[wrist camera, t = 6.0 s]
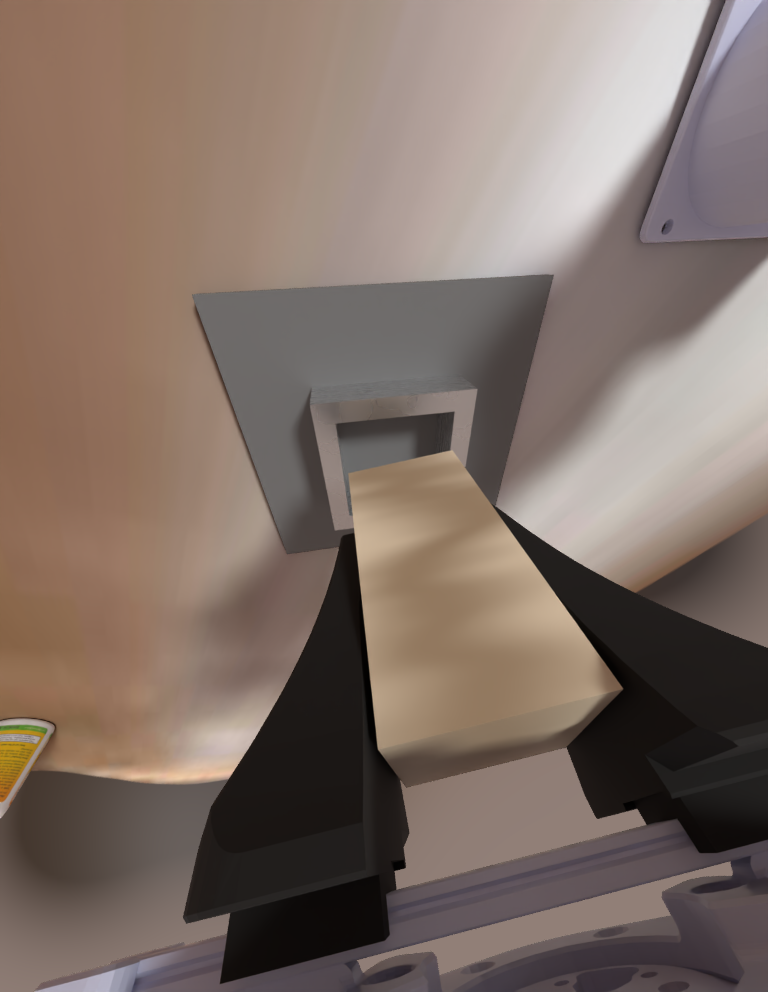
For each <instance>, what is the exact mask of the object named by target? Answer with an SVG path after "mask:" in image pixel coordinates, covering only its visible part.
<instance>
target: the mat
mask: <svg viewBox="0 0 768 992" xmlns="http://www.w3.org/2000/svg"><path fill="white" fill-rule="evenodd" d="M553 276H554V275H531V276H513V277H495V278H477V279H459V280H440V281H422V282H404V283H386V284H368V285H349V286H331V287H313V288H295V289H277V290H258V291H240V292H222V293H204V294H193V295H192V296H193V299H194V302H195V304H196V307H197V310H198V313H199V315H200V318H201V321H202V324H203V326H204V329H205V332H206V334H207V337H208V340H209V343H210V345H211V348H212V351H213V354H214V356H215V359H216V362H217V364H218V367H219V370H220V373H221V375H222V378H223V381H224V384H225V386H226V389H227V392H228V394H229V397H230V400H231V403H232V405H233V408H234V411H235V414H236V416H237V419H238V422H239V424H240V427H241V430H242V433H243V435H244V438H245V441H246V444H247V446H248V449H249V452H250V454H251V457H252V460H253V463H254V465H255V468H256V471H257V474H258V476H259V479H260V482H261V484H262V487H263V490H264V493H265V495H266V498H267V501H268V504H269V506H270V509H271V512H272V514H273V517H274V520H275V523H276V525H277V528H278V531H279V534H280V536H281V539H282V542H283V544H284V547H285V550H286V553H287V554H292V553H299V552H306V551H313V550H320V549H327V548H334V547H339V546H340V540H341V537H342V536H343V535H347V534H351V533H355V531H354V528H350V529H343V530H335V529H334V524H333V519H332V514H331V509H330V504H329V499H328V494H327V489H326V484H325V479H324V474H323V469H322V464H321V459H320V454H319V449H318V444H317V439H316V434H315V429H314V424H313V419H312V414H311V409H310V398H311V391H312V387H322V386H333V385H344V384H356V383H367V382H378V381H390V380H401V379H412V378H424V377H435V376H446V375H458V374H459V375H460V376H461V377H463V378H464V379H465V380H467V381H468V382H469V383H471V384H472V385H473V386H474V387H476V388H477V396H476V402H475V409H474V415H473V422H472V428H471V434H470V441H469V447H468V454H467V460H466V467H465V468H466V470H467V471H468V473H469V474H470V475H471V477H472V478H473V480H474V481H475V482H476V484H477V485H478V487H479V488H480V489H481V491H482V492H483V494H484V495H485V496H486V498H487V499H488V501H489V502H490V503H491V504H493V505H494V506H495V505H496V501H497V497H498V493H499V489H500V485H501V481H502V477H503V473H504V469H505V465H506V461H507V457H508V453H509V450H510V446H511V442H512V438H513V434H514V430H515V426H516V422H517V418H518V414H519V410H520V406H521V402H522V398H523V394H524V390H525V386H526V382H527V378H528V374H529V371H530V367H531V363H532V359H533V355H534V351H535V347H536V343H537V339H538V335H539V331H540V327H541V323H542V319H543V315H544V311H545V307H546V303H547V299H548V295H549V292H550V288H551V284H552V280H553ZM437 417H438V413H435V414H425V415H415V416H405V417H395V418H386V419H376V420H366V421H356V422H346V423H337V426H338V433H339V439H340V446H341V453H342V460H343V467H344V473H345V480H346V487H347V491H350V485H349V476H348V473H352V472H356V471H361V470H365V469H370V468H374V467H379V466H383V465H388V464H392V463H397V462H401V461H406V460H410V459H415V458H419V457H424V456H428V455H433V454H435V443H436V430H437Z"/></svg>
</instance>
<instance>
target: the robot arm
mask: <svg viewBox="0 0 768 992" xmlns="http://www.w3.org/2000/svg"><path fill="white" fill-rule="evenodd" d="M664 223H666V225H665V229H664V230H663V232H661V231H662V227H663V225H664ZM766 237H768V0H726V1H725V4H724V7H723V9H722V12H721V15H720V17H719V20H718V23H717V25H716V28H715V31H714V33H713V36H712V39H711V42H710V44H709V47H708V50H707V52H706V55H705V58H704V60H703V63H702V66H701V69H700V71H699V74H698V77H697V79H696V82H695V85H694V87H693V90H692V93H691V95H690V98H689V101H688V104H687V106H686V109H685V112H684V114H683V117H682V120H681V122H680V125H679V128H678V130H677V133H676V136H675V139H674V141H673V144H672V147H671V149H670V152H669V155H668V157H667V160H666V163H665V166H664V168H663V171H662V174H661V176H660V179H659V182H658V184H657V187H656V190H655V192H654V195H653V198H652V201H651V203H650V206H649V209H648V211H647V214H646V217H645V219H644V222H643V225H642V228H641V231H640V240H641V241H642V242H644V243H655V242H678V241H700V240H722V239H744V238H766ZM491 505H492V506H493V508H494V509H495V510H496V512H497V513H498V515H499V516H500V517H501V519H502V520H503V522H504V523H505V524H506V526H507V527H508V529H509V530H510V531H511V533H512V534H513V536H514V537H515V538H516V540H517V541H518V543H519V544H520V545H521V547H522V548H523V550H524V551H525V552H526V554H527V555H528V557H529V558H530V559H531V561H532V562H533V563H534V565H535V566H536V568H537V569H538V570H539V572H540V573H541V575H542V576H543V577H544V579H545V580H546V582H547V583H548V584H549V586H550V587H551V589H552V590H553V591H554V593H555V594H556V596H557V597H558V598H559V600H560V601H561V603H562V604H563V605H564V607H565V608H566V610H567V611H568V612H569V614H570V615H571V617H572V618H573V619H574V621H575V622H576V624H577V625H578V626H579V628H580V629H581V631H582V632H583V633H584V635H585V636H586V638H587V639H588V640H589V642H590V643H591V645H592V646H593V647H594V649H595V650H596V652H597V653H598V654H599V656H600V657H601V659H602V660H603V661H604V663H605V664H606V665H607V667H608V668H609V670H610V671H611V672H612V674H613V675H614V677H615V678H616V679H617V681H618V682H619V684H620V685H621V686H622V688H623V690H622V691H621V692H620V693H619V694H618V695H617V696H616V697H615V698H614V699H613V700H612V701H611V702H610V703H609V704H608V705H607V706H606V707H605V708H604V709H603V710H602V711H601V712H600V713H599V714H598V715H597V716H596V717H595V718H594V719H593V720H592V721H591V722H590V723H589V724H588V725H587V726H586V727H585V728H584V729H583V730H582V732H581V733H580V734H579V735H578V736H577V737H576V738H575V739H574V740H573V741H572V742H571V743H570V744H569V745H568V746H567V750H568V752H569V755H570V757H571V760H572V762H573V765H574V768H575V770H576V773H577V776H578V778H579V781H580V784H581V786H582V789H583V792H584V794H585V797H586V799H587V800H588V802H589V805H590V807H591V809H592V811H593V813H594V815H595V816H596V818H597V819H599V818H602V817H607V816H611V815H615V814H619V813H622V812H626V811H630V810H634V809H638V810H639V812H640V814H641V816H642V817H643V819H644V821H645V822H646V824H647V825H645V826H641V827H637V828H633V829H629V830H626V831H622V832H618V833H614V834H610V835H606V836H602V837H599V838H595V839H591V840H587V841H583V842H579V843H576V844H572V845H568V846H564V847H560V848H557V849H552V850H549V851H545V852H541V853H537V854H533V855H529V856H525V857H522V858H518V859H514V860H510V861H506V862H503V863H498V864H495V865H491V866H487V867H483V868H479V869H475V870H471V871H468V872H464V873H460V874H456V875H452V876H449V877H444V878H441V879H437V880H433V881H429V882H425V883H421V884H418V885H414V886H410V887H406V888H402V889H398V890H396V881H395V872H394V871H396V870H400V869H404V868H406V863H405V856H404V848H403V847H404V845H405V843H406V840H407V838H408V835H409V828H408V823H407V817H406V811H405V805H404V800H403V794H402V789H401V783H400V778H399V777H398V776H397V774H396V773H395V772H394V770H393V769H392V768H391V766H390V765H389V764H388V762H387V761H386V760H385V758H384V757H383V756H382V754H381V753H380V752H379V750H378V745H377V736H376V726H375V717H374V708H373V699H372V689H371V680H370V671H369V661H368V652H367V643H366V633H365V624H364V615H363V606H362V596H361V587H360V578H359V568H358V559H357V550H356V541H355V533H351V534H347V535H343V536H342V537H341V540H340V546H339V551H338V555H337V560H336V563H335V567H334V571H333V574H332V577H331V580H330V584H329V587H328V590H327V593H326V596H325V599H324V601H323V604H322V607H321V609H320V612H319V615H318V617H317V620H316V622H315V625H314V627H313V629H312V632H311V634H310V636H309V639H308V641H307V643H306V645H305V647H304V650H303V652H302V654H301V656H300V658H299V660H298V662H297V664H296V666H295V668H294V670H293V672H292V674H291V676H290V678H289V680H288V682H287V683H286V685H285V687H284V689H283V691H282V693H281V695H280V696H279V698H278V700H277V702H276V703H275V705H274V707H273V708H272V710H271V712H270V714H269V715H268V717H267V719H266V720H265V722H264V724H263V726H262V727H261V729H260V731H259V732H258V734H257V736H256V738H255V739H254V741H253V742H252V744H251V746H250V747H249V749H248V750H247V752H246V753H245V755H244V757H243V758H242V760H241V761H240V763H239V764H238V766H237V767H236V769H235V770H234V772H233V774H232V775H231V777H230V778H229V780H228V781H227V783H226V784H225V786H224V787H223V789H222V790H221V792H220V794H219V795H218V797H217V798H216V800H215V801H214V803H213V805H212V806H211V809H210V812H209V815H208V819H207V822H206V825H205V829H204V832H203V835H202V838H201V842H200V846H199V849H198V853H197V858H196V862H195V866H194V871H193V875H192V880H191V884H190V889H189V893H188V898H187V902H186V906H185V911H184V915H183V918H184V920H185V922H186V923H191V922H195V921H199V920H203V919H207V918H212V917H216V916H219V915H223V914H228V913H230V919H229V926H228V932H227V934H225V935H221V936H217V937H213V938H210V939H206V940H202V941H198V942H194V943H190V944H187V945H185V944H184V942H182V943H178V944H174V945H170V946H166V947H163V948H159V949H155V950H151V951H147V952H143V953H139V954H135V955H132V956H129V957H125V958H122V959H119V960H116V961H112V962H111V963H110V964H108V965H104V966H100V967H96V968H92V969H88V970H85V971H81V972H77V973H73V974H69V975H66V976H63V977H60V978H56V979H53V980H50V981H46V982H43V983H41V984H40V985H39V986H38V988H37V989H36V990H35V991H34V992H768V648H766V647H764V646H761V645H758V644H756V643H753V642H750V641H747V640H744V639H742V638H739V637H737V636H734V635H731V634H729V633H726V632H724V631H721V630H718V629H716V628H714V627H711V626H709V625H706V624H704V623H701V622H699V621H697V620H694V619H692V618H689V617H687V616H685V615H682V614H680V613H678V612H675V611H673V610H671V609H669V608H666V607H664V606H662V605H659V604H658V603H656V602H653V601H651V600H649V599H647V598H645V597H643V596H641V595H638V594H636V593H634V592H632V591H630V590H628V589H626V588H624V587H622V586H620V585H618V584H616V583H614V582H612V581H610V580H608V579H607V578H605V577H603V576H601V575H599V574H597V573H595V572H594V571H592V570H590V569H588V568H586V567H585V566H583V565H581V564H579V563H578V562H576V561H574V560H573V559H571V558H570V557H568V556H566V555H565V554H563V553H561V552H560V551H558V550H557V549H555V548H554V547H552V546H550V545H549V544H547V543H546V542H545V541H543V540H542V539H540V538H539V537H537V536H536V535H534V534H533V533H531V532H530V531H528V530H527V529H526V528H524V527H523V526H521V525H520V524H519V523H517V522H516V521H515V520H513V519H512V518H510V517H509V516H508V515H506V514H505V513H504V512H502V511H501V510H500V509H498V508H497V507H496V506H494V505H493V504H491ZM729 861H731V867H732V870H733V875H732V876H712V877H700V878H695V879H690V880H687V881H684V882H682V883H680V884H678V885H675V886H673V887H671V888H669V889H667V890H665V891H663V892H662V899H663V901H664V903H665V905H666V907H667V908H668V910H669V912H670V914H671V916H666V917H660V918H656V919H650V920H644V921H639V922H633V923H628V924H623V925H618V926H612V927H607V928H601V929H596V930H591V931H586V932H581V933H576V934H571V935H566V936H562V937H558V938H553V939H549V940H545V941H542V942H538V943H534V944H531V945H527V946H523V947H520V948H517V949H514V950H510V951H507V952H504V953H501V954H498V955H495V956H492V957H489V958H486V959H484V960H481V961H478V962H475V963H473V964H470V965H467V966H464V967H462V968H459V969H456V970H453V971H450V972H447V973H445V974H442V975H439V970H438V963H437V957H436V956H435V954H434V953H433V952H425V953H415V954H405V955H399V956H395V957H391V958H388V959H385V960H383V961H381V962H379V963H377V964H376V965H374V966H373V967H371V968H370V969H368V970H367V971H366V972H364V973H362V971H361V968H360V965H359V963H358V961H357V960H359V959H363V958H366V957H370V956H374V955H378V954H381V953H385V952H389V951H392V950H396V949H400V948H404V947H408V946H412V945H415V944H419V943H423V942H427V941H430V940H434V939H438V938H442V937H446V936H449V935H453V934H457V933H461V932H464V931H468V930H472V929H476V928H480V927H483V926H487V925H491V924H495V923H498V922H502V921H506V920H510V919H513V918H517V917H521V916H525V915H529V914H533V913H536V912H540V911H544V910H548V909H551V908H555V907H559V906H562V905H566V904H570V903H574V902H578V901H582V900H585V899H589V898H593V897H597V896H600V895H604V894H608V893H612V892H616V891H619V890H623V889H627V888H631V887H635V886H638V885H642V884H646V883H650V882H653V881H657V880H661V879H665V878H669V877H672V876H676V875H680V874H683V873H687V872H691V871H695V870H699V869H703V868H706V867H710V866H714V865H718V864H721V863H725V862H729Z"/></svg>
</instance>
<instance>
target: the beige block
mask: <svg viewBox="0 0 768 992" xmlns="http://www.w3.org/2000/svg"><path fill="white" fill-rule="evenodd" d="M348 476H349V485H350V494H351V503H352V513H353V522H354V531H355V541H356V550H357V559H358V568H359V578H360V587H361V596H362V606H363V615H364V624H365V633H366V643H367V652H368V661H369V671H370V680H371V689H372V699H373V708H374V717H375V726H376V736H377V745H378V750H379V752H380V753H381V754H382V756H383V757H384V758H385V760H386V761H387V762H388V764H389V765H390V766H391V768H392V769H393V770H394V772H395V773H396V774H397V776H398V777H399V778H400V780H401V781H402V782H403V784H404V785H405V787H411V786H414V785H419V784H422V783H427V782H431V781H435V780H439V779H443V778H447V777H450V776H455V775H459V774H463V773H467V772H471V771H475V770H479V769H483V768H487V767H490V766H494V765H498V764H503V763H507V762H510V761H514V760H518V759H522V758H526V757H530V756H534V755H538V754H542V753H546V752H550V751H554V750H558V749H562V748H566V747H567V746H568V745H569V744H570V743H571V742H572V741H573V740H574V739H575V738H576V737H577V736H578V735H579V734H580V733H581V732H582V730H583V729H584V728H585V727H586V726H587V725H588V724H589V723H590V722H591V721H592V720H593V719H594V718H595V717H596V716H597V715H598V714H599V713H600V712H601V711H602V710H603V709H604V708H605V707H606V706H607V705H608V704H609V703H610V702H611V701H612V700H613V699H614V698H615V697H616V696H617V695H618V694H619V693H620V692H621V691H622V690H623V688H622V686H621V685H620V684H619V682H618V681H617V679H616V678H615V677H614V675H613V674H612V672H611V671H610V670H609V668H608V667H607V665H606V664H605V663H604V661H603V660H602V659H601V657H600V656H599V654H598V653H597V652H596V650H595V649H594V647H593V646H592V645H591V643H590V642H589V640H588V639H587V638H586V636H585V635H584V633H583V632H582V631H581V629H580V628H579V626H578V625H577V624H576V622H575V621H574V619H573V618H572V617H571V615H570V614H569V612H568V611H567V610H566V608H565V607H564V605H563V604H562V603H561V601H560V600H559V598H558V597H557V596H556V594H555V593H554V591H553V590H552V589H551V587H550V586H549V584H548V583H547V582H546V580H545V579H544V577H543V576H542V575H541V573H540V572H539V570H538V569H537V568H536V566H535V565H534V563H533V562H532V561H531V559H530V558H529V557H528V555H527V554H526V552H525V551H524V550H523V548H522V547H521V545H520V544H519V543H518V541H517V540H516V538H515V537H514V536H513V534H512V533H511V531H510V530H509V529H508V527H507V526H506V524H505V523H504V522H503V520H502V519H501V517H500V516H499V515H498V513H497V512H496V510H495V509H494V508H493V506H492V505H491V503H490V502H489V501H488V499H487V498H486V496H485V495H484V494H483V492H482V491H481V489H480V488H479V487H478V485H477V484H476V482H475V481H474V480H473V478H472V477H471V475H470V474H469V473H468V471H467V470H466V468H465V467H464V466H463V464H462V463H461V461H460V460H459V459H458V457H457V456H456V455H455V453H454V452H453V450H451V451H446V452H442V453H437V454H433V455H428V456H424V457H419V458H415V459H410V460H406V461H401V462H397V463H392V464H388V465H383V466H379V467H374V468H370V469H365V470H361V471H356V472H352V473H348Z"/></svg>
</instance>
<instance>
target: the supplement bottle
mask: <svg viewBox="0 0 768 992" xmlns="http://www.w3.org/2000/svg"><path fill="white" fill-rule="evenodd" d="M54 729H55V726H54V725H53V724H51V723H50V722H47V721H43V720H39V719H32V718H14V719H7V720H2V721H0V818H1V817H2V816H3V815H4V814H5V812H6V811H7V809H8V807H9V806H10V804H11V802H12V801H13V799H14V798H15V796H16V794H17V792H18V791H19V789H20V787H21V786H22V784H23V782H24V781H25V779H26V777H27V776H28V774H29V772H30V771H31V769H32V767H33V766H34V764H35V762H36V761H37V759H38V757H39V756H40V754H41V752H42V751H43V749H44V747H45V746H46V744H47V742H48V741H49V739H50V737H51V736H52V734H53V732H54Z"/></svg>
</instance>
